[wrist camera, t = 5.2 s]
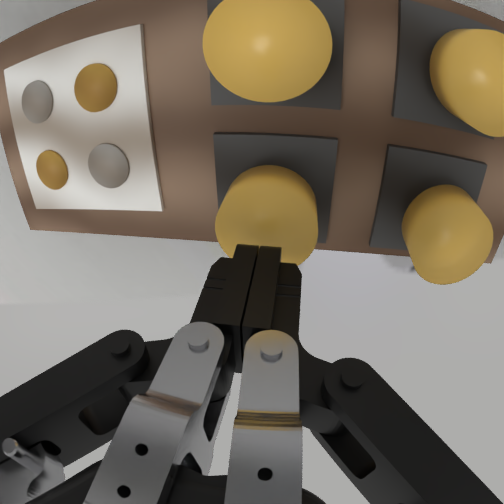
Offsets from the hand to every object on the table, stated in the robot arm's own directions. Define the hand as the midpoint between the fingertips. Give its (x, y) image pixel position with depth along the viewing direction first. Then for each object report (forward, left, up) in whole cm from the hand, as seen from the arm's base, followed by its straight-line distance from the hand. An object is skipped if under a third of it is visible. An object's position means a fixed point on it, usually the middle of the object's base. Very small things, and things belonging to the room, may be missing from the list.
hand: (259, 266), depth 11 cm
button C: (-7, +8, -4) cm, 11 cm away
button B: (0, 0, -4) cm, 4 cm away
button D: (0, +8, -4) cm, 9 cm away
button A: (-7, 0, -4) cm, 8 cm away
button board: (-4, -2, -9) cm, 10 cm away
